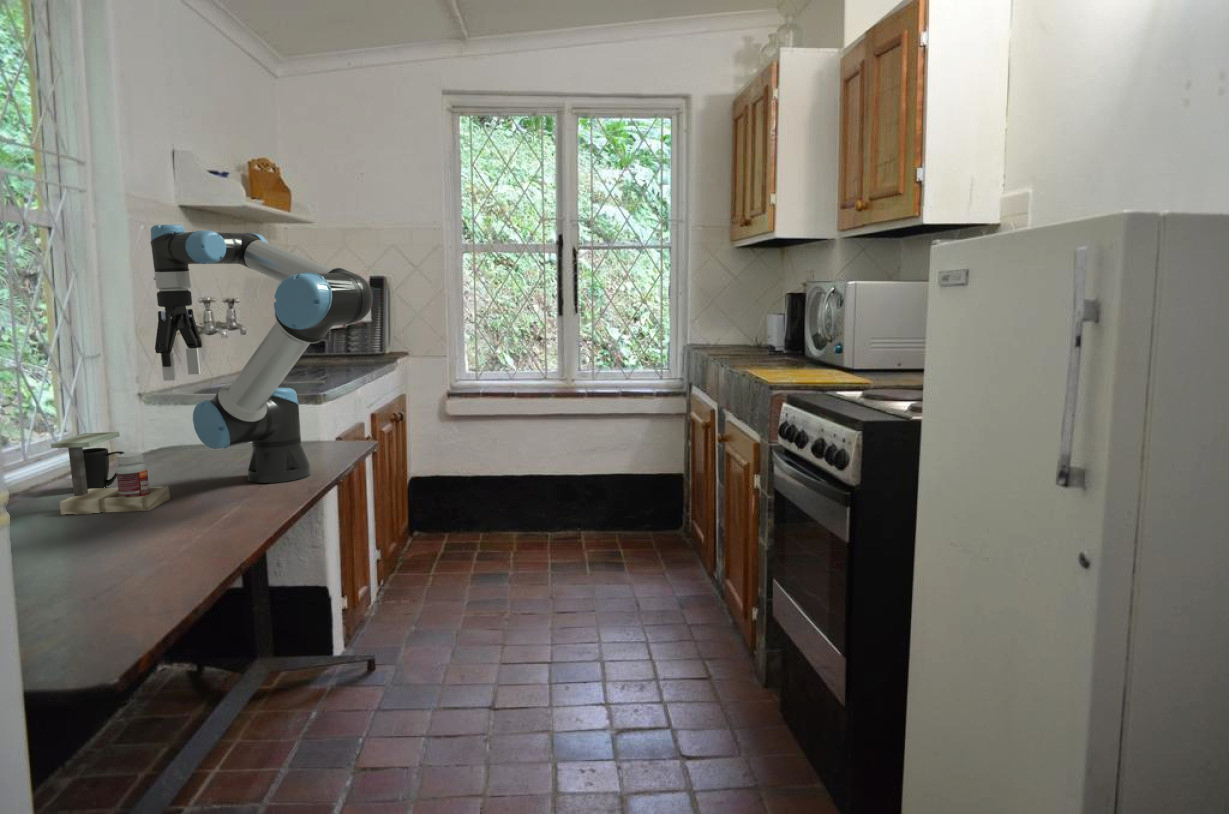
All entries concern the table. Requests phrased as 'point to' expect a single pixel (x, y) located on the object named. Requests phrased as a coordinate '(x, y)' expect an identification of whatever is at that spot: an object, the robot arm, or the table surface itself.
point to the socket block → (100, 497)
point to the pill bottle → (132, 475)
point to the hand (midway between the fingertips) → (182, 377)
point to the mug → (98, 467)
